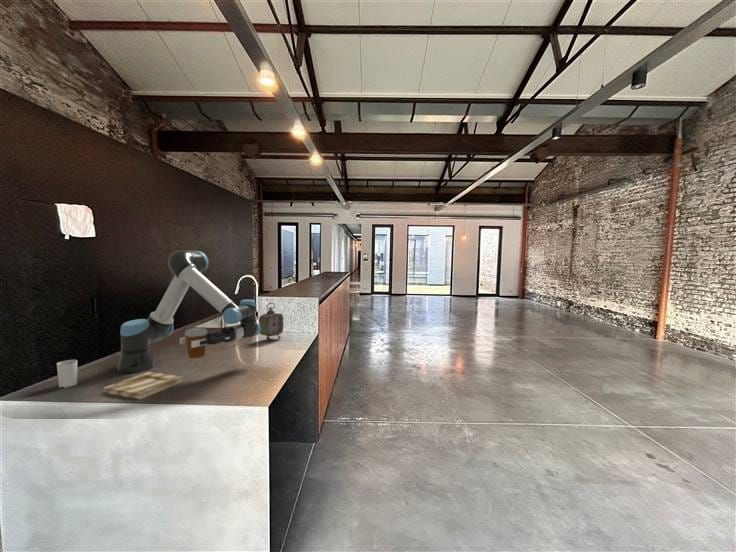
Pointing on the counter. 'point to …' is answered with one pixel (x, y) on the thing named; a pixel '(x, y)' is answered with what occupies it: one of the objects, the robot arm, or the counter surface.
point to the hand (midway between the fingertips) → (186, 343)
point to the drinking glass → (67, 373)
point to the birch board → (143, 385)
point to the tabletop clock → (271, 323)
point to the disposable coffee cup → (192, 336)
